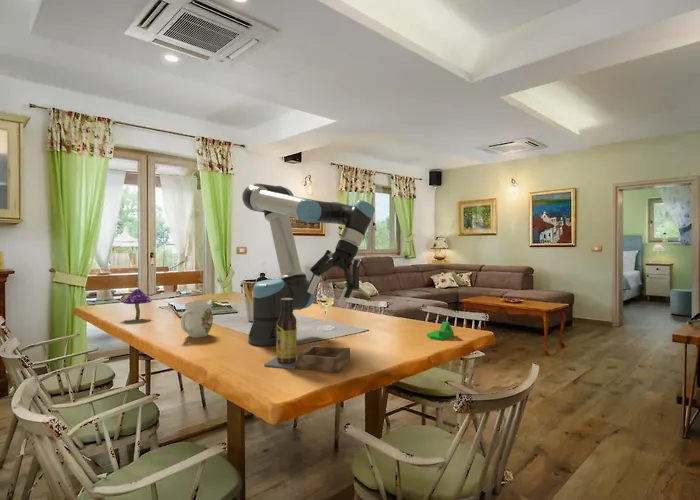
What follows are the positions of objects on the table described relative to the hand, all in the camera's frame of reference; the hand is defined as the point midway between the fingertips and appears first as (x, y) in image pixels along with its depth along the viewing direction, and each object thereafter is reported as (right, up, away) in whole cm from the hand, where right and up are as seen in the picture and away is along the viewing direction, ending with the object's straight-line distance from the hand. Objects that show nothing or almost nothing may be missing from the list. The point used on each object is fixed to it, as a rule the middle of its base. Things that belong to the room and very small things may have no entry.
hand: (324, 299), depth 137 cm
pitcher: (-53, -18, +25) cm, 61 cm away
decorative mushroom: (-95, -17, +58) cm, 113 cm away
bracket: (+45, -19, +28) cm, 57 cm away
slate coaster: (-11, -19, -10) cm, 24 cm away
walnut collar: (+1, -19, -11) cm, 22 cm away
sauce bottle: (-11, -18, -10) cm, 24 cm away
